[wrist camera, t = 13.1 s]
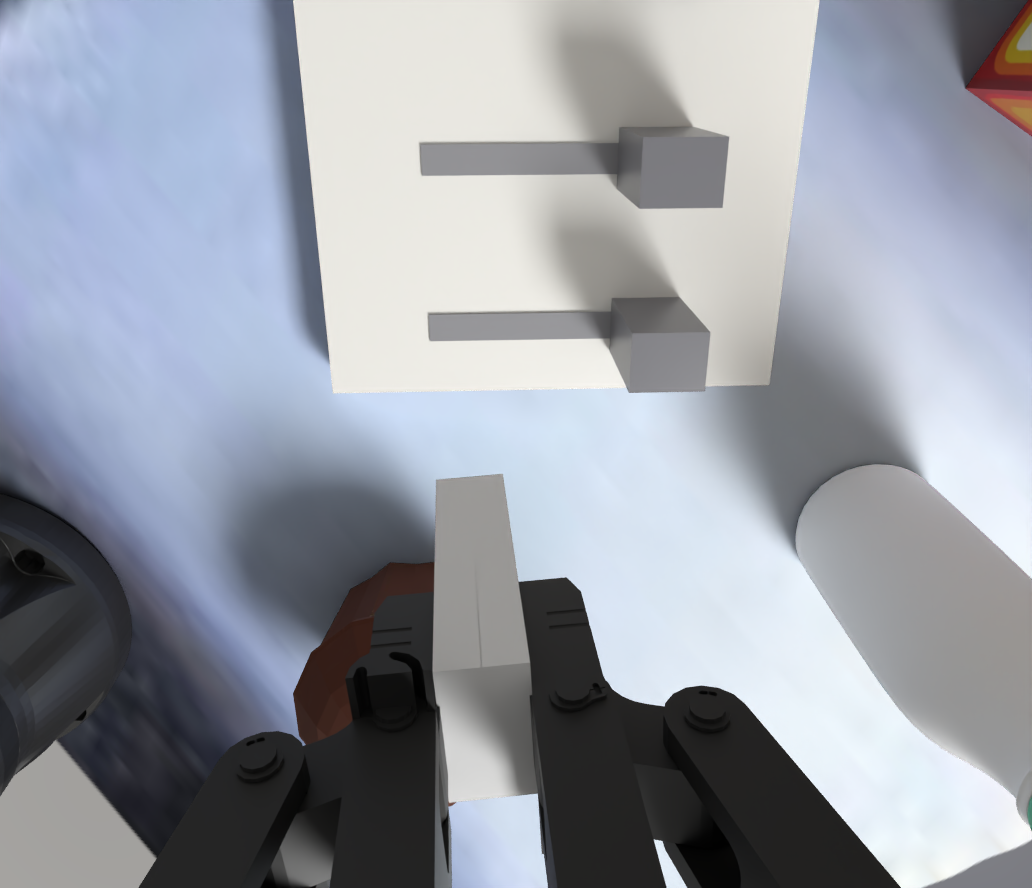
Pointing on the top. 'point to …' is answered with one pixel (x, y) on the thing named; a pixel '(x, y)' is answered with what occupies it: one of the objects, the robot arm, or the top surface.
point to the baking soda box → (1009, 73)
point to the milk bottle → (929, 614)
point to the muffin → (349, 649)
